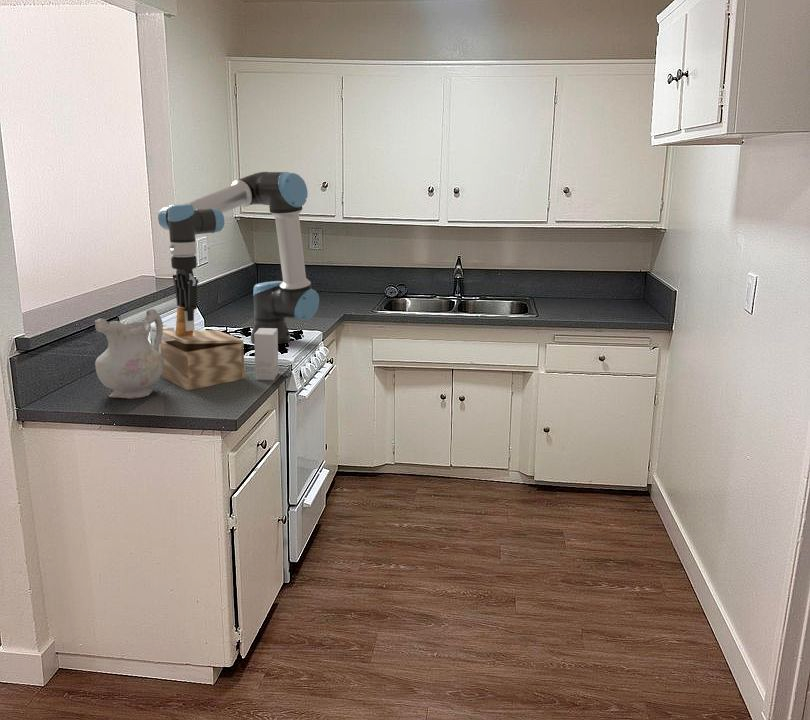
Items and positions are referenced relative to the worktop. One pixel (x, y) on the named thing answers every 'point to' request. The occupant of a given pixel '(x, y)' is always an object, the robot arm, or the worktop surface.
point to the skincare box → (266, 353)
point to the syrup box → (164, 337)
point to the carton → (202, 363)
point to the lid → (197, 333)
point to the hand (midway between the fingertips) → (188, 329)
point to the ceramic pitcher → (130, 357)
